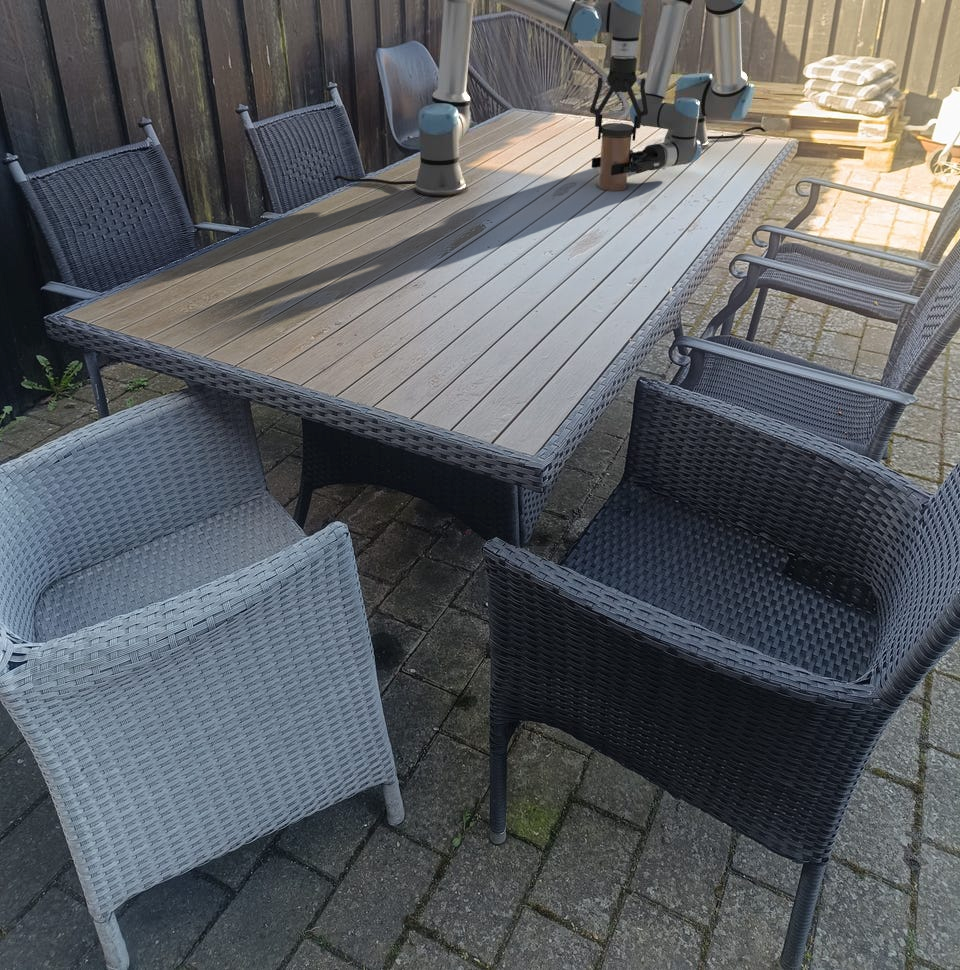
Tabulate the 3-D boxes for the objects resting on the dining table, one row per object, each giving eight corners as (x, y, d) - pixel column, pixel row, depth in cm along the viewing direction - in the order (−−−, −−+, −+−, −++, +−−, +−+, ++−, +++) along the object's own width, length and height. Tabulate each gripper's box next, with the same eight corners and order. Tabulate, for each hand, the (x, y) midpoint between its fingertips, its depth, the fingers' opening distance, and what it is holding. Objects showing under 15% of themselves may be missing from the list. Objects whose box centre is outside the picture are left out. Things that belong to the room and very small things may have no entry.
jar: (600, 190, 258) (605, 133, 248) (596, 182, 265) (600, 126, 255) (628, 190, 258) (634, 132, 248) (623, 182, 265) (628, 125, 255)
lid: (640, 134, 251) (640, 128, 250) (614, 138, 247) (615, 132, 246) (619, 127, 257) (619, 121, 257) (593, 131, 253) (594, 125, 252)
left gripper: (583, 57, 238) (578, 140, 251) (663, 59, 236) (653, 143, 249) (585, 53, 244) (580, 134, 257) (663, 55, 242) (653, 137, 255)
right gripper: (680, 176, 260) (623, 188, 250) (634, 160, 275) (579, 171, 265) (683, 151, 256) (626, 162, 246) (637, 136, 270) (581, 146, 261)
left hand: (616, 138), depth 253 cm, fingers closed on lid, 10 cm apart
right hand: (602, 166), depth 255 cm, fingers closed on jar, 9 cm apart
